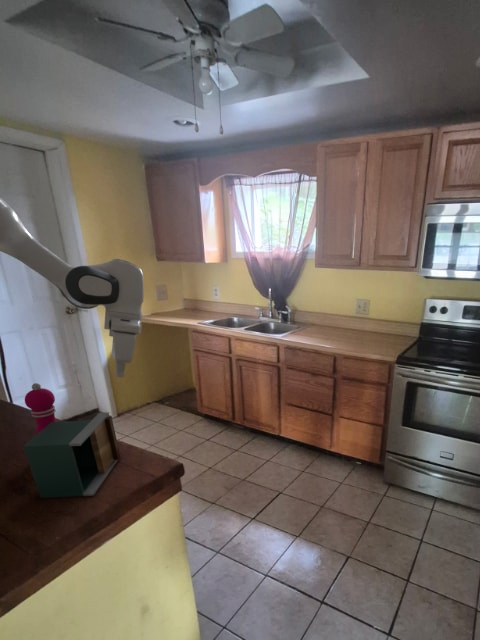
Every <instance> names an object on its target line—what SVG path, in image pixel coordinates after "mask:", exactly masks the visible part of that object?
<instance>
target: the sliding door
mask: <svg viewBox="0 0 480 640" xmlns="http://www.w3.org/2000/svg"><path fill="white" fill-rule="evenodd" d="M117 439H118V438H117V435H116V429H115V426H114V421H113V416H107V417H106V418H105V420H104V421H103V422H102V423H101V424H100V425H99V426H98V427H97V428H96V429H95V430H94V431H93V433H92V434H91V435H90V440H91V444H92V448H93V452H94V456H95V460H96V464H97V468H98V472H99V473H105V471H106V470H107V469H108V467H109V466H110V464H111V463H112V462H113V460H118V461H119V460H120V458H121V453H120V449H119V445H118V440H117Z"/></svg>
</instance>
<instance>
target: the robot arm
mask: <svg viewBox="0 0 480 640" xmlns="http://www.w3.org/2000/svg"><path fill="white" fill-rule="evenodd" d="M0 252H1V253H4V254H6V255H8V256H9V257H12V258H14V259H16V260H18V261H19V262H21V263H22V264H24V265H26V266H27V267H28V268H29V269H31V270H33V271H34V272H35V273H38V274H39V275H40V276H42V277H43V278H45V279H46V280H48V281H49V282H51V284H53V285H54V286H55V287H56V288H57V289H58V290H59V291H60V293H61V294H62V296H63V297H64V298H65V300H66V301H67V302H68V303H70V304H71V305H73V307H76V308H78V309H81V310H90V309H94V308H97V307H99V306H102V307H104V309H105V311H104V324H103V325H104V327H103V329H104V330H108V336H109V337H112V345H111V356H112V357H113V359H114V361H115V376H116V377H117V378H123V377H124V376H125V368H126V364H130V363H132V361H133V357H134V353H135V346H136V340H137V335H140V334H142V325H143V324H142V323H143V313H142V305H143V304H144V298H145V278H144V277H145V276H144V273H143V271H142V269H141V268H140V267H139V266H138V265H136V264H134V263H132V262H130V261H127V260H124V259H120V258H113V259H111V260H109V261H107V262H106V261H105V262H103V263H98V264H91V265H90V264H88V265H78V266H75V267H74V266H73V265H70V264H69V263H68V262H66V261H65V260H63V259H62V258H60V257H59V256H58V255H56V254H55V253H54V252H52V251H51V250H50V249H48V248H47V247H46V246H44V245H43V244H41V242H39V241H38V240H37V239H36V238H35V237H34V236H33V235H32V234H31V232H29V231H28V229H27V228H26V226H25V225H24V223H23V221H22V220H21V219H20V217H19V215H18V214H17V212H16V211H15V210H14V209H13V208H12V207H11V206H10V205H9V204H8V203H7V202H6V201H5V200H4V199H3V198H1V196H0Z"/></svg>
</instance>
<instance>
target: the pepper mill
mask: <svg viewBox="0 0 480 640" xmlns="http://www.w3.org/2000/svg"><path fill="white" fill-rule="evenodd" d="M55 401H56V398H55V395H54V393H53V392H52V390H49V389H48V388H45V387H44V388H42V386H41V384H39V382H35V383H32V385H31V390H29V391H28V392H27V393H26V394H25V396H24V404H25V405H26V407H27V408H28V409H30V414H31V417H33V418H34V419H35V421H36V432H35V435H34V437H35V436H36V435H37V434H38V433H39V432H41V431H42V430H43V429H44V428H45V427H47V426H48V425H49V424H50V423H51V422H58V421H57V418H56V411H57V410H56V407H55V405H54V404H55Z"/></svg>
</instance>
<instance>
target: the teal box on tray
mask: <svg viewBox="0 0 480 640" xmlns="http://www.w3.org/2000/svg"><path fill="white" fill-rule="evenodd" d="M109 416H110V412H108V411H106V412H98V414H96V416H94V417H93V418H92V420H65V421H63V420H62V421H57V422H51V423H50V424H49V425H48V426H47V427H45V428H44V429H43V430H42V431H41V432H39V433H38V434H37V435H36V434H35V435H36V436H35V435H34V436H33V437H32V438H31V439H29V440H28V441H27V442H26V443H25V444H24V445H23V446H22V447H23V449H24V452H25V454H26V455H25V457H26V459H27V461H28V465H29V468H30V470H31V474H32V478H33V479H34V482H35V485H36V489H37V491H38V494H39V498H40V499H44V498H45V499H46V498H47V499H48V498H70V497H72V498H73V497H74V498H75V497H94V495H95V494H96V493H97V491H98V490H99V488H100V487H101V486H102V483H104V481H105V480H106V478H107V477H108V475H110V472H111V471H112V470H113V468H114V467H115V465H116V464H117V463H118V462H119V459H118V460H113V462H112V463H111V464H110V466H109V467H108V469H107V470H106V471H105V473H99V472H98V468H97V464H96V460H95V456H94V452H93V448H92V444H91V440H90V435H91V434H92V433H93V431H94V430H95V429H96V428H97V427H98V426H99V425H100V424H101V423H102V422H103V421H104V420H105V418H106V417H109Z"/></svg>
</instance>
